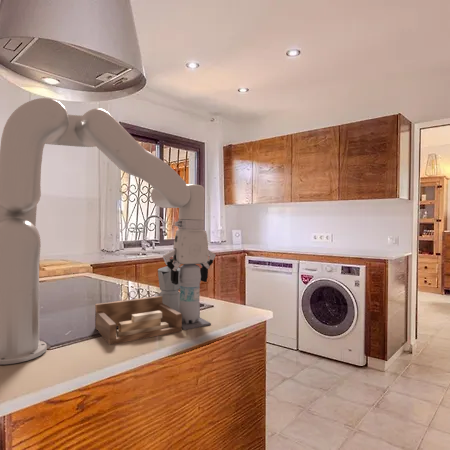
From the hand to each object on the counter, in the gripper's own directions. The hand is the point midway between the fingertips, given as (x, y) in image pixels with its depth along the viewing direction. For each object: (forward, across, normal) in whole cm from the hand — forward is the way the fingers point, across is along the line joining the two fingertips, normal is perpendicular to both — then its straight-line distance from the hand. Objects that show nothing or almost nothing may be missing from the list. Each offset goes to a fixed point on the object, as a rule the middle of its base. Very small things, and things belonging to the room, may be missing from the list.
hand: (189, 282), depth 107 cm
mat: (+12, +1, 0) cm, 13 cm away
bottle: (+12, 0, 0) cm, 12 cm away
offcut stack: (+13, -15, -2) cm, 20 cm away
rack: (+13, -15, +2) cm, 20 cm away
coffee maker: (+13, +1, +15) cm, 20 cm away
